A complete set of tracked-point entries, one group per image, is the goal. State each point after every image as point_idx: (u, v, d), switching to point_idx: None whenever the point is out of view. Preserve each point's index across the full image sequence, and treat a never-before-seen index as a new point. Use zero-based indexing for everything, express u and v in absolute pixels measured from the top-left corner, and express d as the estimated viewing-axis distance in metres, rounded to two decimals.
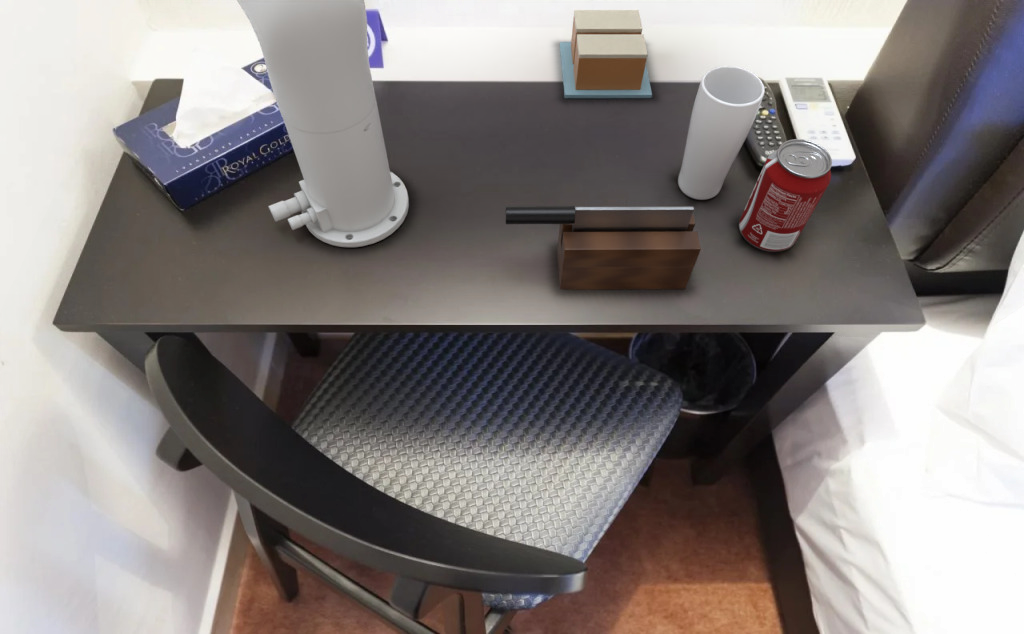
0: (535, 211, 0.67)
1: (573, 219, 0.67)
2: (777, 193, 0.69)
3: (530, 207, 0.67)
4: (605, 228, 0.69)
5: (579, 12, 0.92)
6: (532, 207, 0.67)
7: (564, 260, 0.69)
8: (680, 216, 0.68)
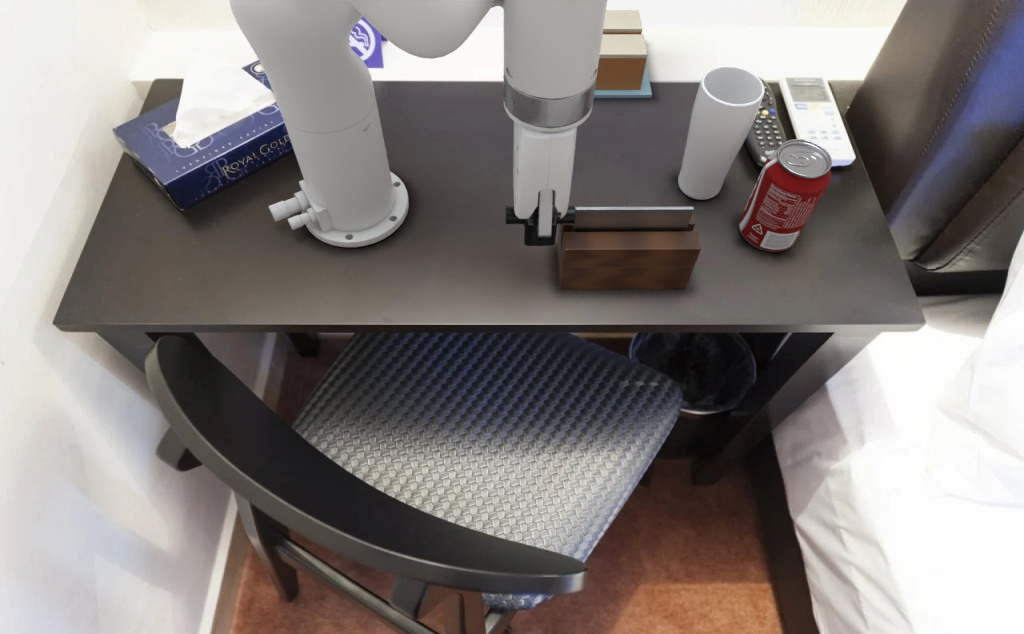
0: (535, 211, 0.67)
1: (573, 219, 0.67)
2: (777, 193, 0.69)
3: None
4: (605, 228, 0.69)
5: None
6: None
7: (564, 260, 0.69)
8: (680, 216, 0.68)
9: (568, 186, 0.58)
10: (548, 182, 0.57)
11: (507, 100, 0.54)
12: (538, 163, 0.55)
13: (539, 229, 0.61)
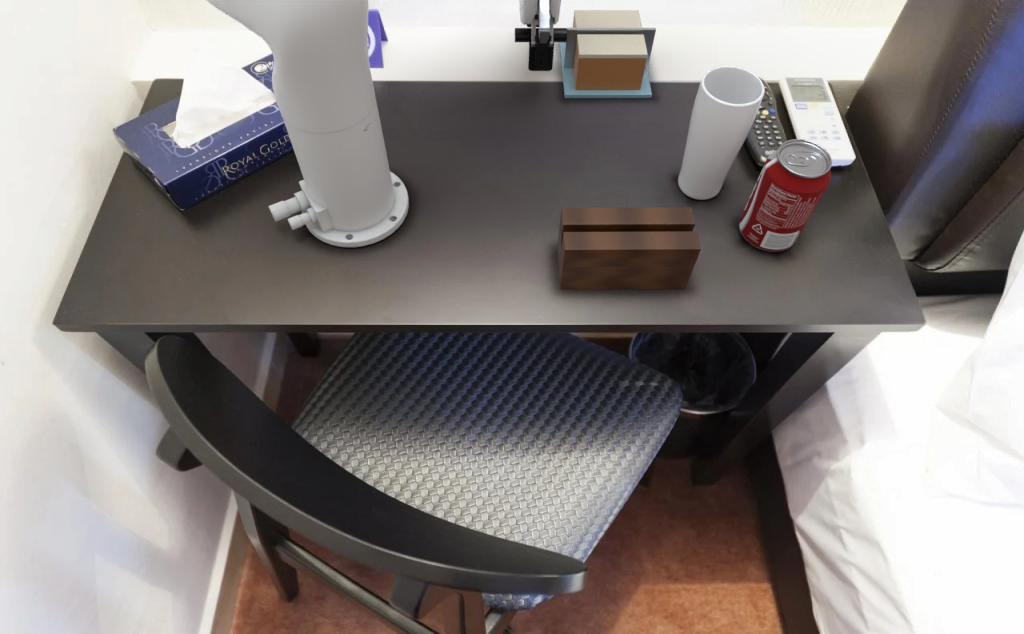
0: (537, 30, 0.89)
1: (565, 37, 0.89)
2: (777, 193, 0.69)
3: None
4: None
5: (579, 12, 0.92)
6: None
7: (564, 260, 0.69)
8: (646, 36, 0.90)
9: None
10: None
11: None
12: None
13: (540, 23, 0.80)
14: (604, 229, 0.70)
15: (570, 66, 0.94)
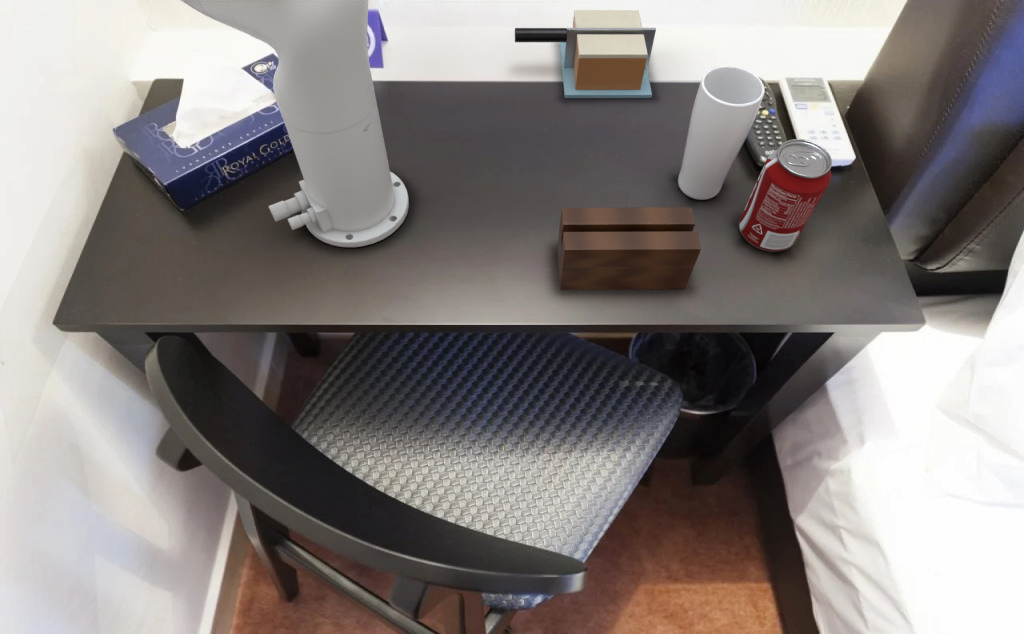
0: (537, 30, 0.89)
1: (565, 37, 0.89)
2: (777, 193, 0.69)
3: (533, 28, 0.89)
4: None
5: (579, 12, 0.92)
6: (535, 28, 0.89)
7: (564, 260, 0.69)
8: (646, 36, 0.90)
9: None
10: None
11: None
12: None
13: None
14: (604, 229, 0.70)
15: (570, 66, 0.94)
